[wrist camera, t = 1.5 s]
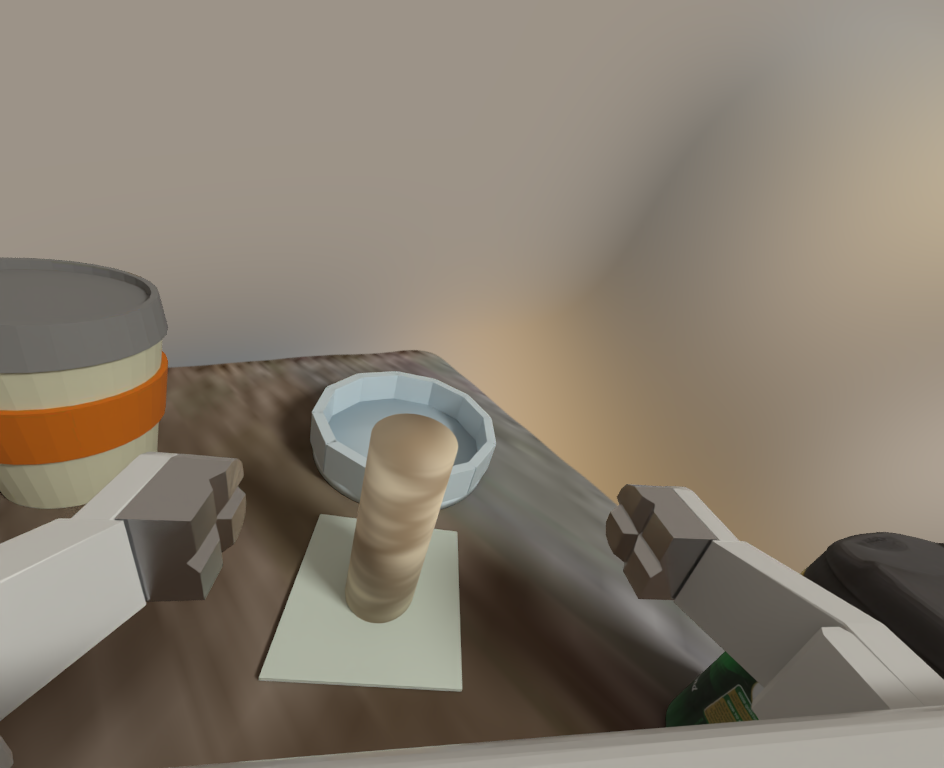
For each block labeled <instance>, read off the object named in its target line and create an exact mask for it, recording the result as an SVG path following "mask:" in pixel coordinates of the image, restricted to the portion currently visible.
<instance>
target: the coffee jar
mask: <svg viewBox="0 0 944 768" xmlns="http://www.w3.org/2000/svg"><path fill="white" fill-rule="evenodd" d="M800 575H802V576H804V577H806V578H807V579H809V580H811V581H812V582H814V583H816V584H817V585H819V586H821V587H822V588H824V589H826V590H827V591H829V592H831V593H832V594H834V595H836V596H837V597H839V598H841V599H842V600H844V601H846V602H847V603H849V604H851V605H852V606H854V607H856V608H857V609H859V610H861V611H862V612H864V613H866V614H867V615H869V616H871V617H872V618H874V619H876V620H877V621H879V622H881V623H882V624H884V625H885V626H886V627H887V628H888V629H889V630H890V631H891V632H893V633H894V634H895V635H896V636H897V637H898V638H899V639H900V640H901V641H902V642H903V643H904V644H906V645H907V646H908V647H909V648H910V649H911V650H912V651H913V652H914V653H915V654H916V655H917V656H919V657H920V658H921V659H922V660H923V661H924V662H925V663H926V664H927V665H928V666H929V667H930V668H932V669H933V670H934V671H935V672H936V673H937V674H938V675H939V676H940V677H941V678H942V679H943V680H944V543H935V542H931V541H927V540H923V539H919V538H916V537H910V536H906V535H901V534H896V533H888V532H877V533H866V534H859V535H854V536H850V537H847V538H844V539H841V540H838V541H836V542H834V543H833V544H832V545H830V546H829V547H828V548H827V550H826V551H825V552H824V553H823V554H822V555H821V556H820V557H818V558H817V559H816V560H815V561H814V562H813V563H812V564H811V565H810V566H809V567H807V568H806V569H805V570H804V571H802V573H801V574H800ZM763 689H764V687H763V686H762V685H761V684H760V683H759V682H758V681H756V680H755V679H754V678H753V677H752V676H751V675H750V674H749V673H748V672H747V671H746V670H745V669H744V668H743V667H742V666H741V665H740V664H738V663H737V662H736V661H735V660H734V659H733V658H732V657H731V656H730V655H729V654H728V653H727V652H726V651H725V652H724V653H723V654H722V655H721V656H720V657H719V658H718V659H717V660H716V661H715V662H714V663H712V664H711V665H710V666H709V667H708V668H707V669H706V670H705V671H704V672H703V673H702V674H701V675H700V676H698V677H697V678H696V679H695V680H694V681H693V682H692V683H691V684H690V685H689V686H688V687H687V688H686V689H685V690H683V691H682V692H681V693H680V694H679V695H678V696H677V697H676V698H675V699H674V700H673V701H672V702H671V703H670V705H669V707H668V709H667V713H666V727H678V726H690V725H703V724H715V723H728V722H740V721H752V720H759V719H758V717H757V716H756V714H755V713H754V711H753V710H752V702H753V700H754V699H755V697H756V696H757V695H758V694H759V693H760V692H761V691H762V690H763Z"/></svg>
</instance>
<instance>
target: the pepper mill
mask: <svg viewBox="0 0 944 768" xmlns="http://www.w3.org/2000/svg"><path fill="white" fill-rule="evenodd" d="M457 451H458V442H457V439H456V437H455V435H454V434H453V433H452V431H451V430H450V429H449V428H447V427H446V426H445V425H443V424H442V423H440V422H439V421H437V420H434V419H432V418H429V417H426V416H423V415H418V414H409V413H403V414H395V415H391V416H387V417H385V418H383V419H381V420H380V421H378V422H377V423H376V424H375V425H374V427H373V429H372V431H371V437H370V443H369V449H368V455H367V461H366V467H365V473H364V479H363V485H362V491H361V497H360V503H359V509H358V515H357V521H356V527H355V533H354V539H353V545H352V551H351V557H350V563H349V569H348V575H347V581H346V587H345V598H346V602H347V604H348V606H349V608H350V610H351V611H352V612H353V613H354V614H355V615H356V616H357V617H358V618H360V619H362V620H364V621H366V622H370V623H386V622H390V621H392V620H394V619H396V618H398V617H399V616H401V615H402V614H403V613H404V612H405V611H406V610H407V609H408V607H409V606H410V604H411V602H412V599H413V596H414V592H415V589H416V586H417V583H418V579H419V576H420V573H421V569H422V566H423V563H424V560H425V556H426V553H427V550H428V546H429V543H430V540H431V537H432V533H433V530H434V527H435V523H436V520H437V517H438V514H439V510H440V507H441V504H442V501H443V497H444V494H445V491H446V487H447V484H448V481H449V478H450V474H451V471H452V468H453V464H454V461H455V458H456V455H457Z"/></svg>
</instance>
